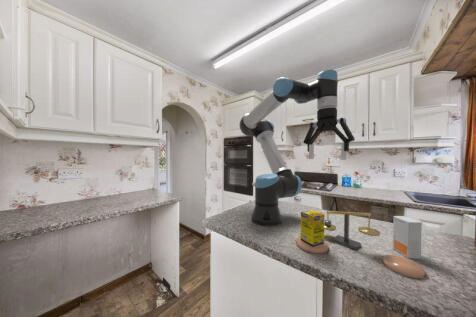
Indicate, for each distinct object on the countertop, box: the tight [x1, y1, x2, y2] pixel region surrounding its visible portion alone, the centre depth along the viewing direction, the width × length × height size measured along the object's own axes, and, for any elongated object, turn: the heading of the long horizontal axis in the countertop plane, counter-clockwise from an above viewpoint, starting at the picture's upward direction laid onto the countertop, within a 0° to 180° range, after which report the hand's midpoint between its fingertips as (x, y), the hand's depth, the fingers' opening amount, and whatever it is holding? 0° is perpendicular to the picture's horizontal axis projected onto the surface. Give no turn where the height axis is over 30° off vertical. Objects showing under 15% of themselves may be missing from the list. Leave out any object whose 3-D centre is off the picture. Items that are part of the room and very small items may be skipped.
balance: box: [324, 210, 381, 251], centre depth 65 cm, size 20×6×13 cm, turn 36°
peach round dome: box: [295, 235, 330, 255], centre depth 64 cm, size 11×11×1 cm
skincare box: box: [392, 215, 423, 260], centre depth 58 cm, size 6×4×12 cm
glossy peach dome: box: [382, 254, 426, 279], centre depth 51 cm, size 9×9×1 cm
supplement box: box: [300, 209, 325, 247], centre depth 64 cm, size 6×6×11 cm
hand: (326, 159), depth 73 cm, fingers open, 13 cm apart
